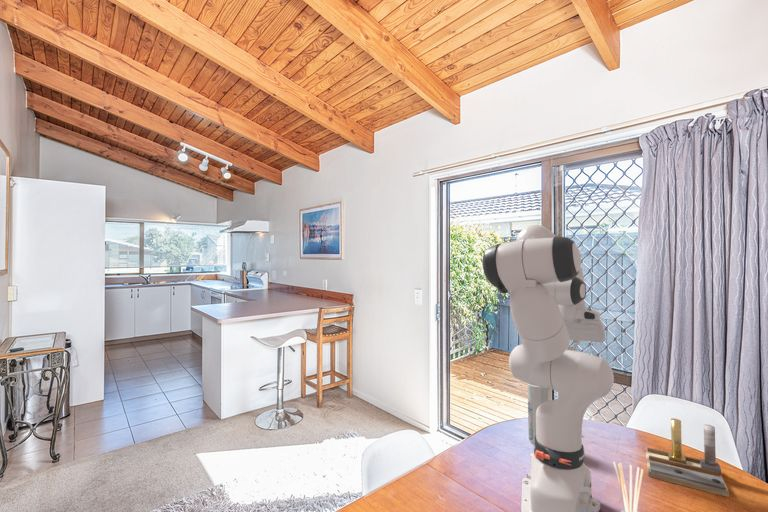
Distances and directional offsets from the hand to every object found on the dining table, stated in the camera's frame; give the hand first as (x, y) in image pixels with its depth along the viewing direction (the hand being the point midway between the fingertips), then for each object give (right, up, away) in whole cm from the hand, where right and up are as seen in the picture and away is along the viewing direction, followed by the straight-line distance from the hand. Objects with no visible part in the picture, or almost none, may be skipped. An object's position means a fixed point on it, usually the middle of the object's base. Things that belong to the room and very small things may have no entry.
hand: (571, 352), depth 123 cm
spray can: (-11, -31, +1) cm, 33 cm away
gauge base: (+23, -31, -18) cm, 43 cm away
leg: (+24, -29, -15) cm, 40 cm away
